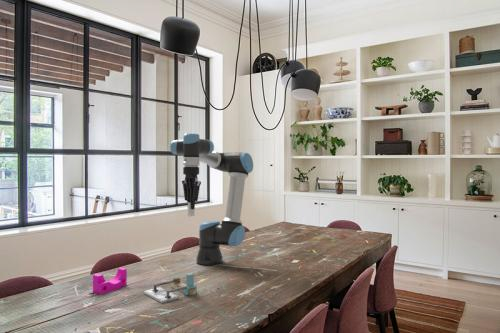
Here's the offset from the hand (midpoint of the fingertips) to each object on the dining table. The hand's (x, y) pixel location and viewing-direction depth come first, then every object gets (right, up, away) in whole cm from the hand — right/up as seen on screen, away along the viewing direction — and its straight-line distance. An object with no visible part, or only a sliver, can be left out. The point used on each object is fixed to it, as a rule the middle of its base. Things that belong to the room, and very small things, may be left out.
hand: (191, 215), depth 181 cm
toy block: (-35, -33, -6) cm, 49 cm away
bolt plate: (-10, -33, -17) cm, 38 cm away
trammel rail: (-6, -33, -13) cm, 35 cm away
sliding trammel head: (-2, -32, -17) cm, 36 cm away
